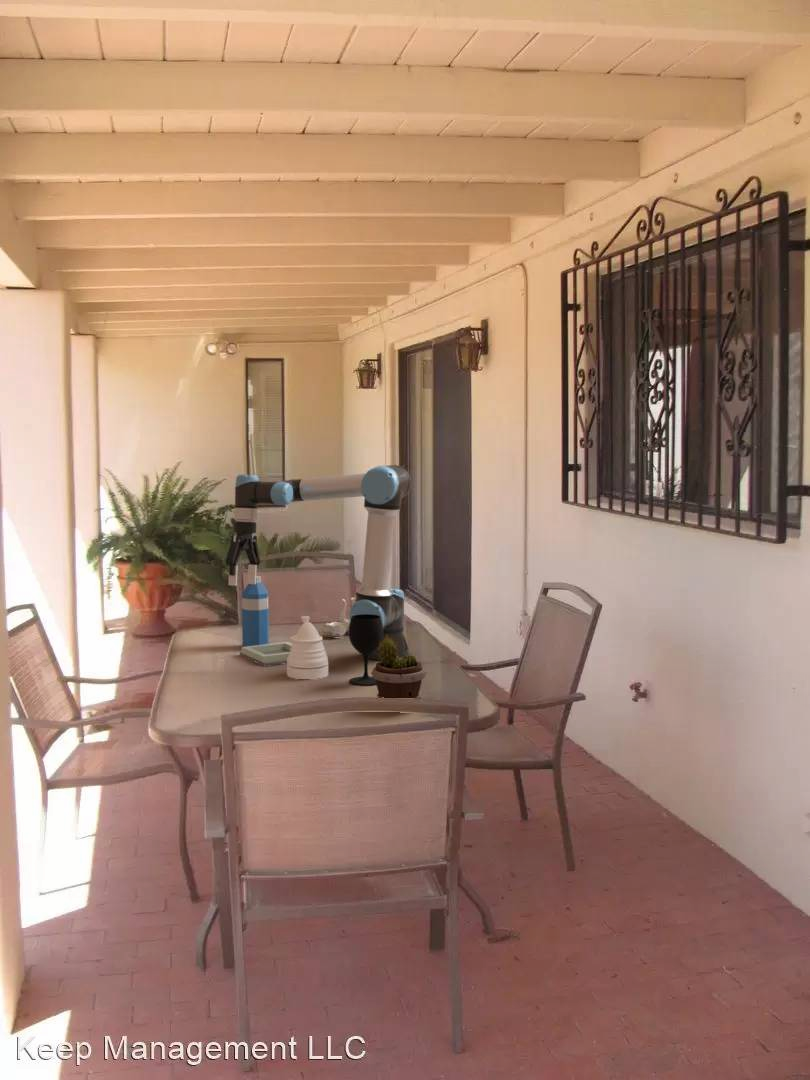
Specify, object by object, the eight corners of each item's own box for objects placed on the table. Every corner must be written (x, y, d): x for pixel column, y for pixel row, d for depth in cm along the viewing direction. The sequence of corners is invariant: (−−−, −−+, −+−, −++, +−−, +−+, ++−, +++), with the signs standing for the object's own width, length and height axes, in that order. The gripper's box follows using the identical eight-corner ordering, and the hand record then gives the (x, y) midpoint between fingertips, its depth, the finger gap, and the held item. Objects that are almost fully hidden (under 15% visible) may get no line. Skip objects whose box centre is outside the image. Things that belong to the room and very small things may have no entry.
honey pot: (281, 672, 327) (281, 615, 325) (320, 668, 332) (320, 613, 330) (294, 681, 315) (293, 623, 313) (334, 677, 320) (333, 620, 318)
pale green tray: (312, 660, 343) (312, 651, 343) (265, 666, 334) (265, 657, 334) (285, 649, 360) (285, 640, 360) (239, 654, 351) (239, 646, 351)
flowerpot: (435, 703, 291) (435, 633, 289) (405, 716, 278) (406, 642, 276) (391, 695, 299) (392, 627, 297) (361, 707, 286) (361, 636, 284)
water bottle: (237, 649, 360) (236, 577, 358) (250, 644, 369) (250, 574, 366) (260, 651, 357) (260, 579, 354) (274, 646, 365) (273, 575, 363)
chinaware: (326, 645, 375) (326, 601, 371) (318, 632, 390) (319, 589, 387) (401, 642, 381) (402, 598, 378) (391, 629, 397) (392, 587, 394)
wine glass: (370, 687, 308) (370, 621, 306) (341, 682, 314) (341, 617, 311) (389, 680, 317) (389, 615, 315) (361, 676, 322) (361, 612, 320)
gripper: (252, 521, 360) (249, 582, 360) (216, 519, 336) (213, 585, 336) (271, 522, 357) (269, 584, 358) (237, 520, 334) (234, 586, 334)
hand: (242, 584), depth 347 cm, fingers open, 13 cm apart
